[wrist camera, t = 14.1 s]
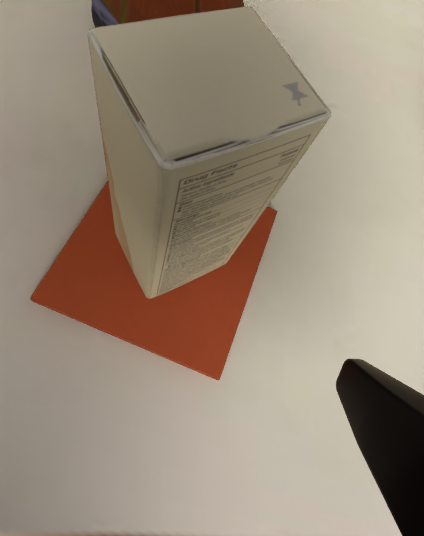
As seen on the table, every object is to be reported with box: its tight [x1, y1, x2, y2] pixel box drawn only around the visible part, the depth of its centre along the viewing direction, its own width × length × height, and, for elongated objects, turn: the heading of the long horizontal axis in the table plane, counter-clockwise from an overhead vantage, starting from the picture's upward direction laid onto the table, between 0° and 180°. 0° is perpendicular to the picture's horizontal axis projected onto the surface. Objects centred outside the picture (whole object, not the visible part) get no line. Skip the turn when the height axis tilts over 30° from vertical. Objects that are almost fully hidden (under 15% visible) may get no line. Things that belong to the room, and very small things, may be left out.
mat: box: [30, 182, 277, 380], centre depth 18 cm, size 11×10×1 cm
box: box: [88, 7, 331, 299], centre depth 13 cm, size 5×4×11 cm
